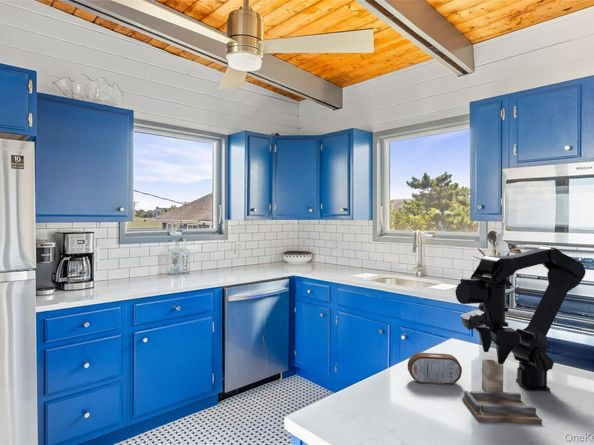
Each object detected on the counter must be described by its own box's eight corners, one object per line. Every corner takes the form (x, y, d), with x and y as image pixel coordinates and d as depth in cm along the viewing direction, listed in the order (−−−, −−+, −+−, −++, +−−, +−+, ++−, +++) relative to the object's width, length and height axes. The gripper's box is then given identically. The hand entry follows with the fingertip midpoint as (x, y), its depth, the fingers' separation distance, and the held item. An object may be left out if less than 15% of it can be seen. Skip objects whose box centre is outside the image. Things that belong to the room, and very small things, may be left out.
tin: (459, 381, 113) (459, 353, 113) (462, 386, 110) (463, 357, 110) (407, 379, 115) (407, 351, 115) (409, 383, 112) (409, 355, 112)
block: (496, 387, 110) (496, 359, 109) (502, 394, 106) (503, 365, 105) (481, 387, 110) (482, 359, 110) (487, 393, 106) (488, 364, 106)
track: (518, 402, 101) (519, 392, 101) (541, 423, 91) (542, 413, 90) (462, 400, 102) (462, 390, 102) (478, 421, 91) (478, 410, 91)
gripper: (452, 294, 117) (452, 345, 117) (477, 309, 98) (476, 370, 99) (490, 295, 116) (489, 346, 117) (522, 310, 98) (521, 371, 98)
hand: (493, 357), depth 108 cm, fingers open, 9 cm apart
